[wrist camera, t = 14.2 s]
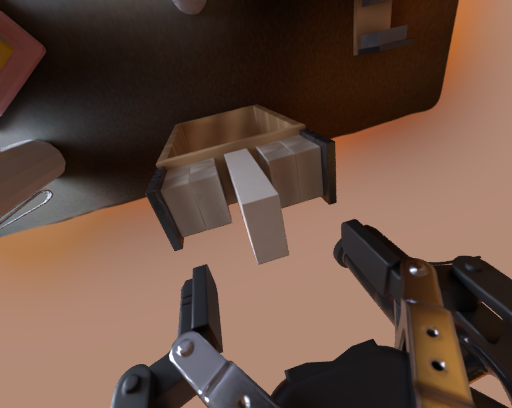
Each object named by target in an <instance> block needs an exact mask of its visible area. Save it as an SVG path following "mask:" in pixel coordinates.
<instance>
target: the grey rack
mask: <svg viewBox="0 0 512 408" xmlns="http://www.w3.org/2000/svg"><path fill="white" fill-rule="evenodd" d="M391 11H392V0H354V40H353V56H355V55H361V54H367V53H374V52H380V51H385V50H389V49H393V48H397V47H401V46H405V45H409V44H413V38H410V39H406V35H407V26H408V25H403V26H399V27H395V28H391V29H390V23H391Z"/></svg>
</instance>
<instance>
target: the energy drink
mask: <svg viewBox="0 0 512 408" xmlns="http://www.w3.org/2000/svg"><path fill="white" fill-rule="evenodd" d="M206 1H207V0H173V2H174V4H175V5H176V6H177V8H178V9H180V10H181V11H182V12H184V13H186V14H189V15H194V14H197V13H199V12H201V11H202V10H203V8H204V7H205V5H206Z"/></svg>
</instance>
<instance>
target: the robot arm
mask: <svg viewBox="0 0 512 408" xmlns="http://www.w3.org/2000/svg"><path fill="white" fill-rule="evenodd" d="M341 236H342V237H341V242H342V247H343V249H344V250H343V252H342V256H341V258H342V261H343V262H344V264H345V265H346V266H347V267H348V268H349V269H350V271H351V272H352V273H353V275H354V276H355V277H356V278H357V280H358V281H359V282H360V283H361V285H362V286H363V287H364V288H365V290H366V291H367V292H368V293H369V295H370V296H371V297H372V299H373V300H374V301H375V302H376V303H377V305H378V306H379V307H380V309H381V310H382V311H383V312H384V314H385V315H386V316H387V317H388V318H389V320H390V321H391V322H392V323H393V324H394V326H395V348H393V347H389V346H378V345H377V344H376V343H375V341H374V339H371V340H368V341H365V342H363V343H360V344H357V345H354V346H352V347H350V348H349V349H348V350H347V351H345V352H344V353H343V354H341V355H340V356H339V357H338V358H336V359H335V360H334V361H329V362H310V363H305V364H302V365H299V366H296V367H294V368H291V369H288V370H285V375H286V379H285V380H284V381H282V382H281V383H280V384H279V385H278V386H277V387H276V389H275V390H274V391H273V393H272V395H271V396H270V395H269V394H268V393H267V392H266V391H264V390H263V389H262V388H261V387H260V386H259V385H258V384H257V383H256V382H255V381H253V380H252V379H251V378H250V377H249V376H248V375H247V374H246V373H245V372H244V371H243V370H242V369H240V368H239V367H238V366H237V365H236V364H235V363H234V362H232V361H228V360H226V359H225V358H224V357H223V356H222V355H221V354H220V353H222V352H223V346H222V336H221V325H220V315H219V303H218V293H217V288H216V284H215V282H214V279H213V277H212V275H211V272H210V270H209V267H208V265H207V264H205V265H203V266H199V267H196V268H193V279H190V280H187V281H185V283H184V285H183V287H182V289H181V303H180V306H181V307H180V317H179V329H178V337H177V339H176V340H175V342H174V343H173V345H172V347H171V350H170V352H169V353H168V354H166V355H165V356H164V357H163V358H161V359H160V360H158V361H157V362H155V363H154V364H152V365H151V366H150V367H148V366H146V365H144V364H139V365H136V366H133V367H132V368H130V369H129V370H128V371H126V372H125V373H124V374H123V375H122V377H121V378H120V380H119V381H118V383H117V385H116V387H115V390H114V394H113V399H112V403H111V408H181V407H182V406H183V405H184V404H186V403H187V402H188V401H189V400H191V399H192V398H193V397H194V396H196V395H198V396H199V398H200V399H201V400H202V401H203V402H204V404H205V405H206V406H207V407H208V408H508V407H506V406H505V405H503V404H501V403H499V402H497V401H496V400H494V399H492V398H490V397H488V396H486V395H484V394H483V393H481V392H479V391H477V390H475V389H473V388H472V387H470V386H469V384H471V383H473V382H475V381H476V380H478V379H480V378H482V377H484V376H485V375H488V374H490V375H493V376H495V377H496V378H497V379H498V380H499V381H500V382H501V384H502V386H503V388H504V390H505V392H506V394H507V396H508V398H509V400H510V402H511V404H512V280H511V279H510V278H509V277H507V276H506V275H504V274H503V273H501V272H500V271H499V270H497V269H496V268H494V267H493V266H491V265H490V264H488V263H487V262H485V261H483V260H481V259H480V258H481V257H480V256H476V257H471V256H458V257H457V258H455V259H454V260H452V261H446V262H426V261H424V260H421V259H417V258H412V257H409V256H408V255H407V254H405V253H404V252H403V251H402V250H400V248H398V247H397V246H396V245H394V243H392V242H391V241H390V240H388V238H386V237H385V236H383V234H382V233H381V232H379V231H378V230H377V229H376V228H373V227H371V226H369V225H364V226H363V225H362V224H361V223H360V222H359V221H358V220H356V219H353V220H350V221H347V222H343V223H342V225H341ZM450 263H452V265H444V264H450ZM482 302H484V303H485V304H486V305H487V306H488V307H490V308H491V309H492V310H493V311H494V312H495V313H497V314H498V315H499V316H500V317H501V318H502V319H503V320H502V319H500V318H499V317H498V316H497V315H496V314H495V313H494V312H492V311H491V310H490V309H489V308H488V307H486V306H485V305H484V304H483V303H482Z"/></svg>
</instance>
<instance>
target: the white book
mask: <svg viewBox="0 0 512 408" xmlns="http://www.w3.org/2000/svg"><path fill="white" fill-rule="evenodd" d="M224 156H225V160H226V163H227V167H228V170H229V174H230V177H231V181H232V184H233V188H234V192H235V195H236V198H237V202H238V204H239V207H240V211H241V213H242V217H243V220H244V223H245V226H246V229H247V232H248V235H249V239H250V242H251V245H252V248H253V251H254V254H255V257H256V261H257V264H258V265H260V264H263V263H266V262H269V261H272V260H275V259H278V258H281V257H285V256H288V255H289V251H288V246H287V240H286V234H285V228H284V222H283V217H282V211H281V205H280V199H279V194H278V193H277V191H276V190H275V188H274V187H273V186H272V184H271V183H270V181H269V180H268V178H267V177H266V176H265V174H264V173H263V171H262V170H261V168H260V167H259V165H258V164H257V163H256V161H255V160H254V158H253V157H252V155H251V154H250V153H249V151H248V150H247V148H245V149H241V150H238V151H234V152H230V153H227V154H224Z"/></svg>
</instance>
